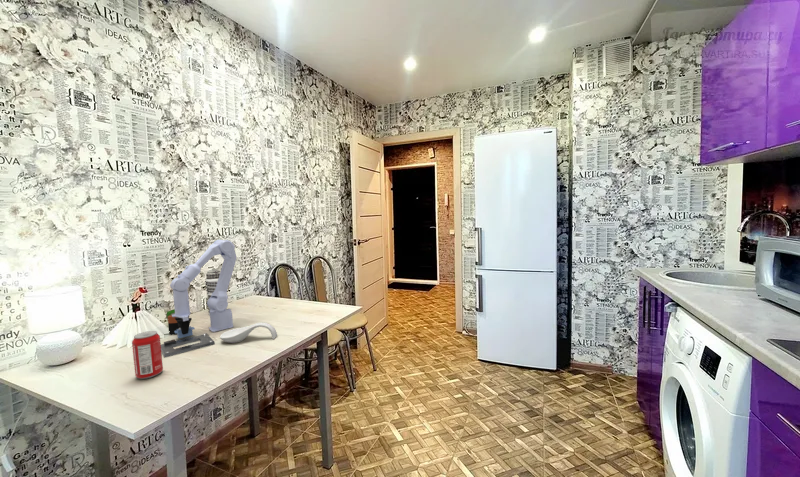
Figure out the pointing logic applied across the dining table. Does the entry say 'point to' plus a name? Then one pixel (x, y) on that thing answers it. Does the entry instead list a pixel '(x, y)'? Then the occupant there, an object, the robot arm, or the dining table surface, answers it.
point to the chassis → (169, 350)
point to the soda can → (147, 354)
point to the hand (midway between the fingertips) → (184, 332)
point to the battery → (172, 324)
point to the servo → (180, 335)
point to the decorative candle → (211, 282)
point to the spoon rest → (245, 332)
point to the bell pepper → (170, 312)
